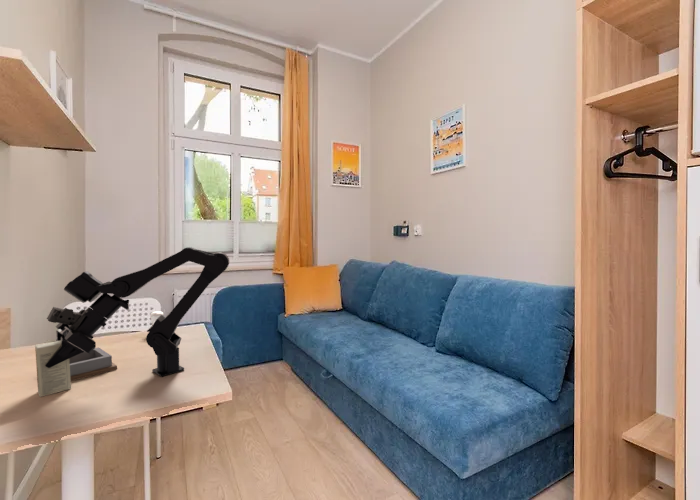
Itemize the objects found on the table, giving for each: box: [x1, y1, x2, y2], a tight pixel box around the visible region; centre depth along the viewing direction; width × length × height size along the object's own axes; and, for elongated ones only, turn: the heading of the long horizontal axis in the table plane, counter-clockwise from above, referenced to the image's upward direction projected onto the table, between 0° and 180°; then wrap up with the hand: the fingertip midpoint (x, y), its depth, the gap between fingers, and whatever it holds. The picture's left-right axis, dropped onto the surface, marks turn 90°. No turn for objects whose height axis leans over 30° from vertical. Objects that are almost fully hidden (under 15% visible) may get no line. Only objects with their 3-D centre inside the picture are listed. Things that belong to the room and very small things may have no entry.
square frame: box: [69, 347, 113, 376], centre depth 100 cm, size 12×12×3 cm
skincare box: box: [34, 340, 72, 398], centre depth 86 cm, size 6×4×12 cm
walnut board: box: [70, 362, 118, 382], centre depth 100 cm, size 14×14×1 cm
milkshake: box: [149, 309, 166, 326], centre depth 137 cm, size 4×5×10 cm
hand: (45, 364), depth 85 cm, fingers closed on skincare box, 4 cm apart
